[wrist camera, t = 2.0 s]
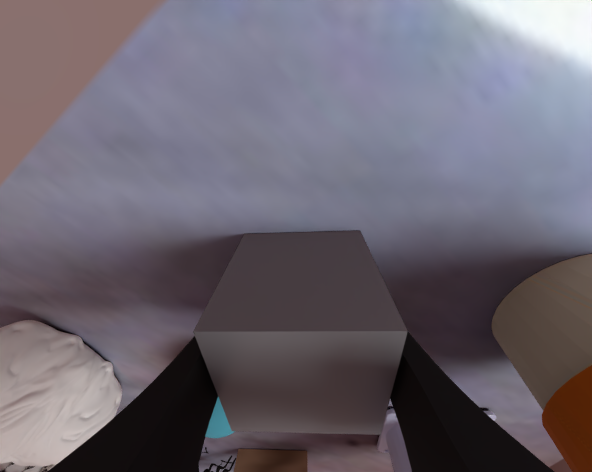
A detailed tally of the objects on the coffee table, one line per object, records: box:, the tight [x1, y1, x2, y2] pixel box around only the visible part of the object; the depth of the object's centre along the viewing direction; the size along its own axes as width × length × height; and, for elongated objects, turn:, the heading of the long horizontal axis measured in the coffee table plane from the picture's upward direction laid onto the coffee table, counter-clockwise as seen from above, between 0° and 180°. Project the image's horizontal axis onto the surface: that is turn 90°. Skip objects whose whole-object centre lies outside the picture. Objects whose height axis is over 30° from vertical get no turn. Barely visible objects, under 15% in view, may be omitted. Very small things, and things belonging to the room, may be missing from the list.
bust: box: [0, 320, 122, 467], centre depth 15 cm, size 12×8×11 cm
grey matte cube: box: [193, 231, 408, 435], centre depth 11 cm, size 6×6×7 cm
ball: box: [205, 397, 235, 438], centre depth 16 cm, size 5×5×5 cm
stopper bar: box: [234, 449, 307, 472], centre depth 25 cm, size 8×1×2 cm, turn 93°
